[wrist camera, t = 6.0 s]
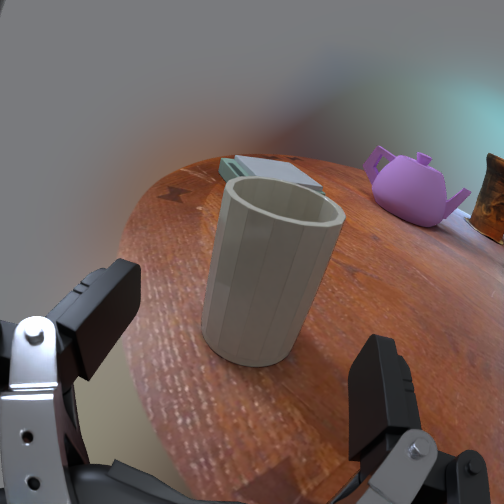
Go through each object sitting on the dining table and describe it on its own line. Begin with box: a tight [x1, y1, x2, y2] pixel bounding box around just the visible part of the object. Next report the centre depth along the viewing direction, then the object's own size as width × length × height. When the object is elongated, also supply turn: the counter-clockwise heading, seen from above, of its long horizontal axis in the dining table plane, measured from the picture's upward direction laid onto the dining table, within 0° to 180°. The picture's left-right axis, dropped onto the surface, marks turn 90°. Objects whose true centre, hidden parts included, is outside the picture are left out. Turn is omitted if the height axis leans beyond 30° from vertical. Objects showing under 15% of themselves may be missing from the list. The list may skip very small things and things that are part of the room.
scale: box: [218, 155, 325, 196], centre depth 44 cm, size 12×12×3 cm
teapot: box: [363, 146, 471, 227], centre depth 52 cm, size 22×16×12 cm
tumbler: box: [201, 176, 346, 367], centre depth 17 cm, size 6×6×9 cm
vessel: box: [464, 153, 504, 244], centre depth 59 cm, size 14×14×20 cm
